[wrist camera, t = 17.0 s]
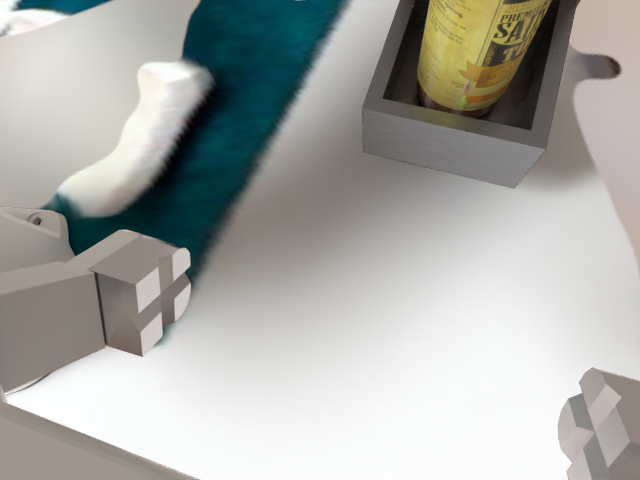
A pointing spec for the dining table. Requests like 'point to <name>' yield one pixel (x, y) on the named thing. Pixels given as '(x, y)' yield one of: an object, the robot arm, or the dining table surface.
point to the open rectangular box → (459, 131)
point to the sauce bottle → (474, 52)
